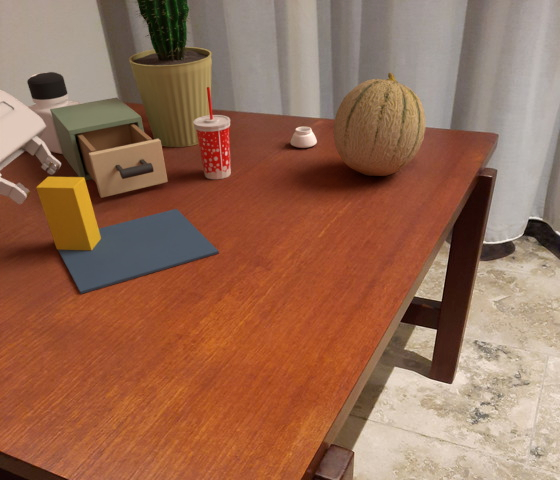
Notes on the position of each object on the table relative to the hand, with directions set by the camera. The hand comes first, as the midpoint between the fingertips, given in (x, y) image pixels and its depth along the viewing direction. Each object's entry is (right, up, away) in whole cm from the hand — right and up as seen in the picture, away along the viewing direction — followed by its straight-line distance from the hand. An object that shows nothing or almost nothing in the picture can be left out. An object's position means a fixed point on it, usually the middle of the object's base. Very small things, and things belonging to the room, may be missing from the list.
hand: (42, 183), depth 74 cm
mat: (+11, -8, +4) cm, 14 cm away
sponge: (+3, -7, +5) cm, 9 cm away
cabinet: (-1, +15, +30) cm, 34 cm away
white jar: (+36, +19, +33) cm, 53 cm away
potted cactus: (+12, +23, +39) cm, 47 cm away
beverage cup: (+21, +10, +24) cm, 33 cm away
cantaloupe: (+48, +9, +21) cm, 53 cm away
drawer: (+6, +8, +20) cm, 23 cm away
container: (-12, +20, +38) cm, 45 cm away
